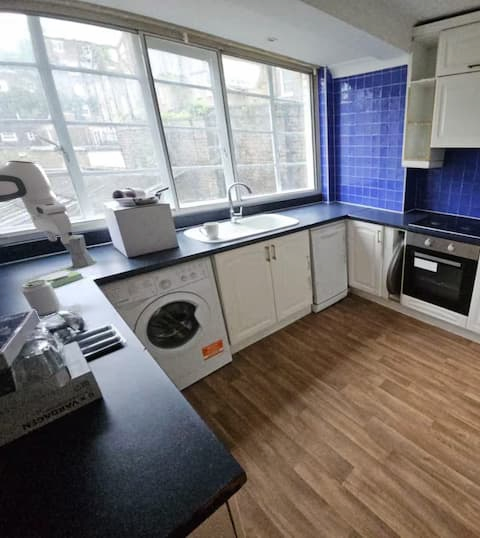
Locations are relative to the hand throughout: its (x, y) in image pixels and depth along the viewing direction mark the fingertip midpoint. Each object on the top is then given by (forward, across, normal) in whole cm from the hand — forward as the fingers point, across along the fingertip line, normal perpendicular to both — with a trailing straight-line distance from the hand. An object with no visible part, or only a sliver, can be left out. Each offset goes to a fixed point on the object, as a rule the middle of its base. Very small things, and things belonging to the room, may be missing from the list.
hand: (59, 242), depth 114 cm
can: (+23, +4, -13) cm, 27 cm away
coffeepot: (+23, -43, +19) cm, 53 cm away
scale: (+23, -28, +2) cm, 37 cm away
